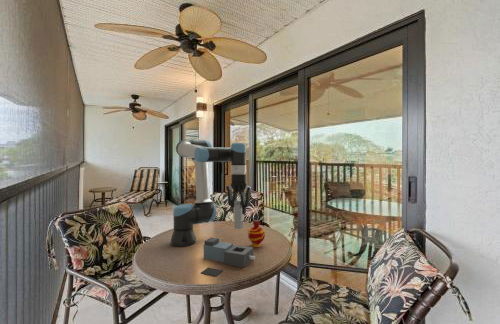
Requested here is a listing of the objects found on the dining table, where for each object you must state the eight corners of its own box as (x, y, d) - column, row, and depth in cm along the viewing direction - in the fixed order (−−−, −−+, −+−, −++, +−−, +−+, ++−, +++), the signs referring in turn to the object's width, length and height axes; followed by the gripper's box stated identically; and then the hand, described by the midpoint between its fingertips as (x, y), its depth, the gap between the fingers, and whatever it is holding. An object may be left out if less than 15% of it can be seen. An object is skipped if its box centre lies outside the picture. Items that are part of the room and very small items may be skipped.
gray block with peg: (233, 229, 126) (233, 201, 126) (238, 226, 132) (238, 199, 132) (239, 230, 125) (238, 201, 125) (244, 227, 131) (244, 199, 130)
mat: (200, 273, 115) (200, 272, 115) (207, 268, 121) (207, 267, 121) (215, 276, 112) (215, 275, 112) (222, 271, 118) (222, 270, 118)
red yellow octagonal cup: (263, 249, 146) (263, 223, 146) (246, 247, 148) (246, 222, 148) (266, 243, 156) (266, 218, 156) (249, 242, 158) (249, 218, 158)
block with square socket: (201, 259, 131) (201, 242, 131) (213, 252, 141) (213, 236, 141) (250, 268, 120) (249, 249, 120) (258, 260, 130) (258, 242, 130)
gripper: (220, 173, 128) (221, 220, 128) (250, 174, 121) (250, 223, 122) (228, 172, 135) (228, 217, 135) (256, 173, 128) (256, 220, 129)
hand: (238, 220), depth 128 cm, fingers closed on gray block with peg, 3 cm apart
